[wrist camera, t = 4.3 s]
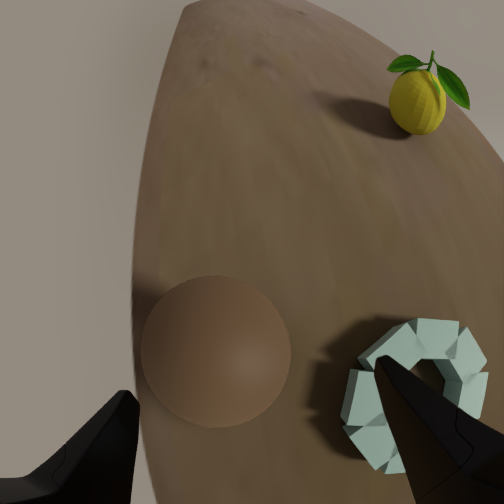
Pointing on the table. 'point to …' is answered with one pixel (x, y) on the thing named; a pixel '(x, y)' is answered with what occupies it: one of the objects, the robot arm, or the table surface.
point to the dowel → (215, 352)
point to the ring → (408, 354)
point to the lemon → (423, 94)
